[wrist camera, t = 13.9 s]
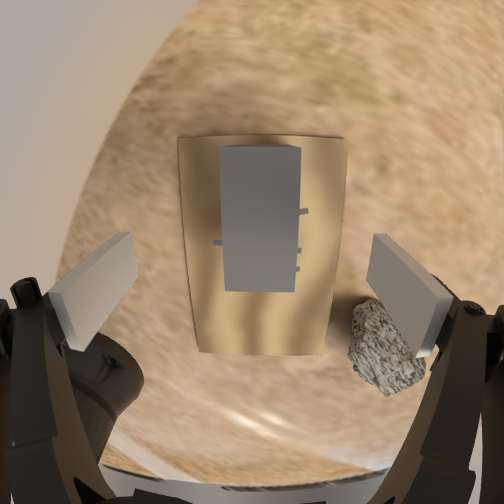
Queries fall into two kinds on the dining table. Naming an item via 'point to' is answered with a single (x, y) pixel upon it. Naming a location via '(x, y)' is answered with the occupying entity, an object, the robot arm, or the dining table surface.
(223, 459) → the dining table surface
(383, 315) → the rock
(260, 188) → the block
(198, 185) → the board
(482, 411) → the robot arm
